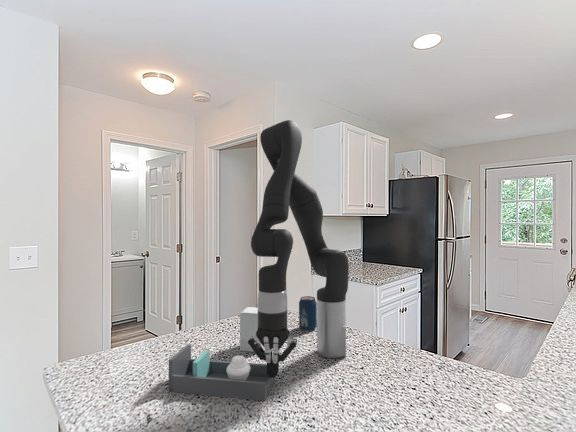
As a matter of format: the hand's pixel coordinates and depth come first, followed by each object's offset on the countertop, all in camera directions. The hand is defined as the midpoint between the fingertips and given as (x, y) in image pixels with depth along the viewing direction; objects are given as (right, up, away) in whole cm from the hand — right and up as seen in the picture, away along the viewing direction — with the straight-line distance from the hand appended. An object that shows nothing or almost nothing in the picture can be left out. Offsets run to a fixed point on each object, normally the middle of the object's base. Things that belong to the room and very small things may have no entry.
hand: (272, 376), depth 81 cm
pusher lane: (-13, -4, +2) cm, 14 cm away
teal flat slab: (-19, -2, +3) cm, 19 cm away
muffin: (-9, -3, +2) cm, 9 cm away
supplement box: (-8, -4, +27) cm, 28 cm away
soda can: (+12, -4, +45) cm, 46 cm away
